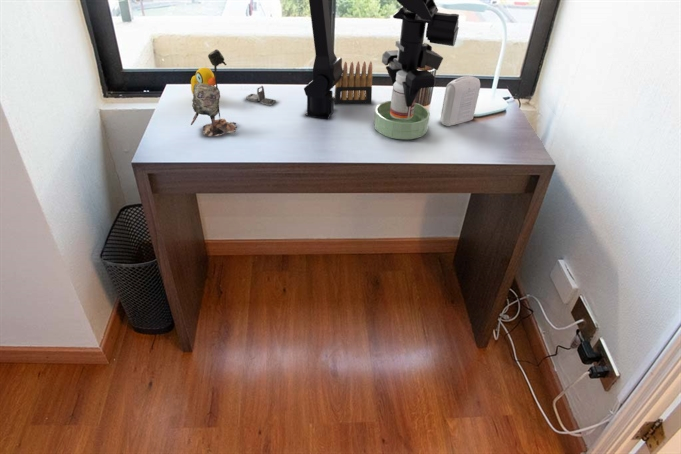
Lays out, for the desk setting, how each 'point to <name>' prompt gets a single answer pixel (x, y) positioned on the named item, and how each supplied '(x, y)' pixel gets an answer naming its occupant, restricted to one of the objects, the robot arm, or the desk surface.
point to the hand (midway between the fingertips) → (403, 101)
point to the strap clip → (260, 97)
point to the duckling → (203, 77)
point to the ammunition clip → (354, 86)
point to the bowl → (401, 122)
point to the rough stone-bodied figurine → (211, 102)
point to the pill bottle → (400, 99)
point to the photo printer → (460, 100)
